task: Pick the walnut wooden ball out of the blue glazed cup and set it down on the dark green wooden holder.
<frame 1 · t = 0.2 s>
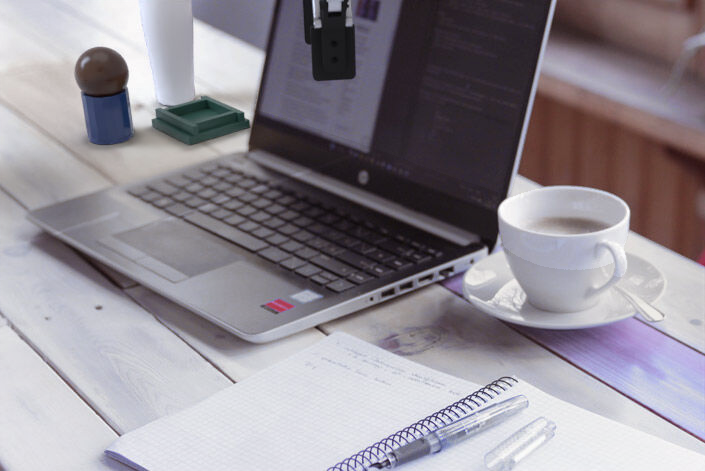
hand: (328, 59, 75), 21 cm above the table, tool pointing down, fingers open, 9 cm apart
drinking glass: (176, 102, 130), on the table
cup: (111, 136, 119), on the table
holder: (200, 126, 121), on the table
ball: (101, 73, 115), point 8 cm above the table, touching cup
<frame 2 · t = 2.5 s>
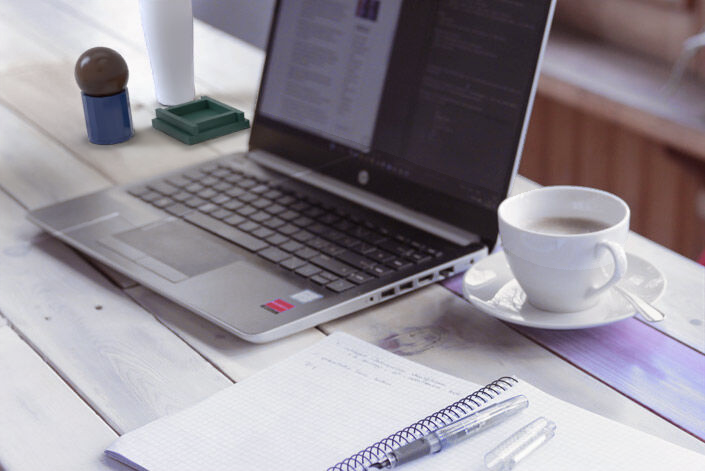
nothing on the table moved.
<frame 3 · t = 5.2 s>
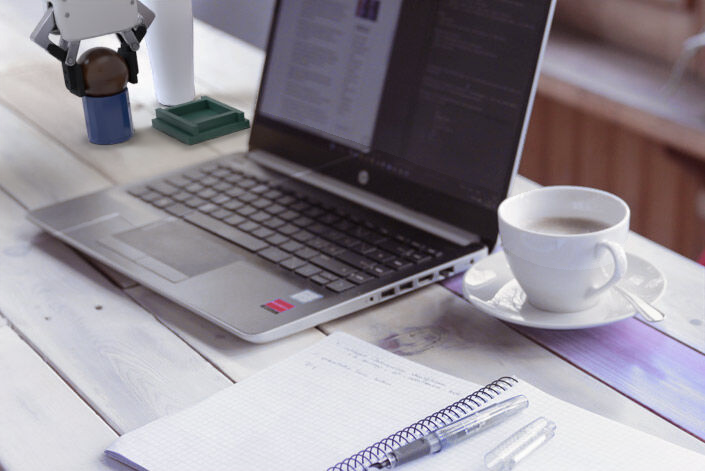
hand: (103, 86, 116), 6 cm above the table, tool pointing down, fingers closed on ball, 6 cm apart
ball: (101, 73, 115), point 8 cm above the table, touching cup, gripper
everything else where it was.
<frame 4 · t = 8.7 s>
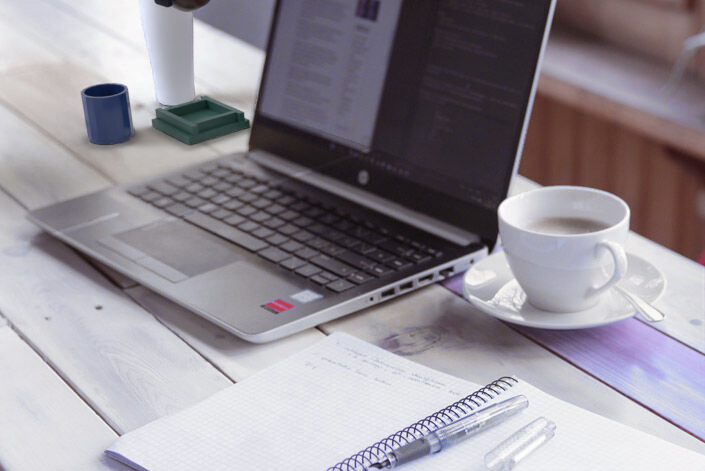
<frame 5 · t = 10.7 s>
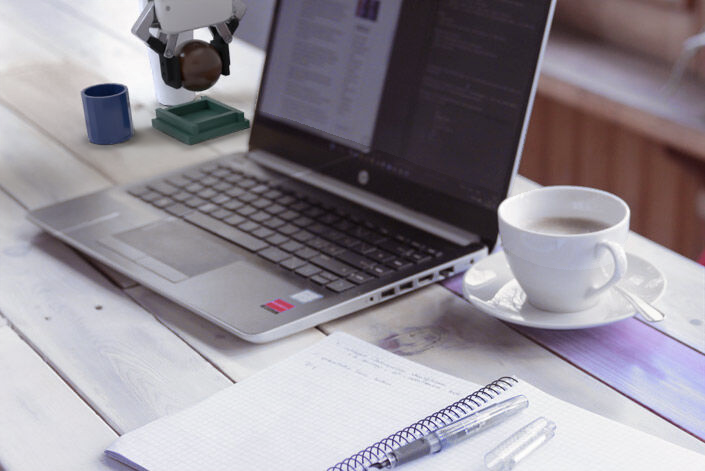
hand: (197, 78, 118), 6 cm above the table, tool pointing down, fingers closed on ball, 6 cm apart
ball: (196, 65, 117), point 8 cm above the table, touching gripper
everything else where it was.
when the fingers open (3 cm above the table, at t = 12.3 s): ball stays where it is, resting on holder.
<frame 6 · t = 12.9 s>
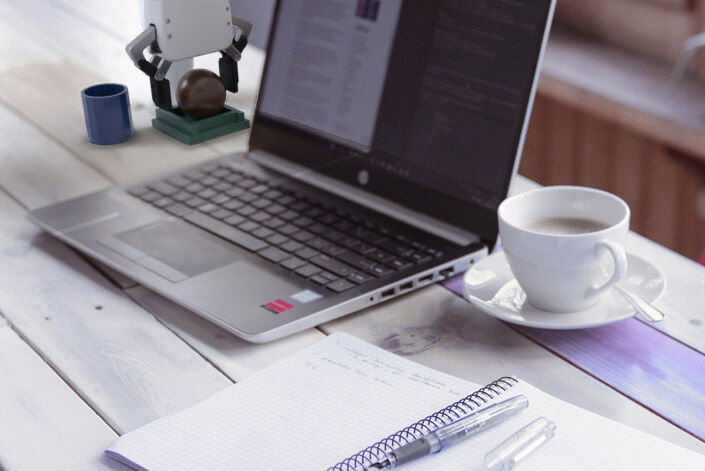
hand: (197, 99, 119), 4 cm above the table, tool pointing down, fingers open, 9 cm apart
ball: (200, 94, 119), point 4 cm above the table, tilted 7°, touching holder
everything else where it was.
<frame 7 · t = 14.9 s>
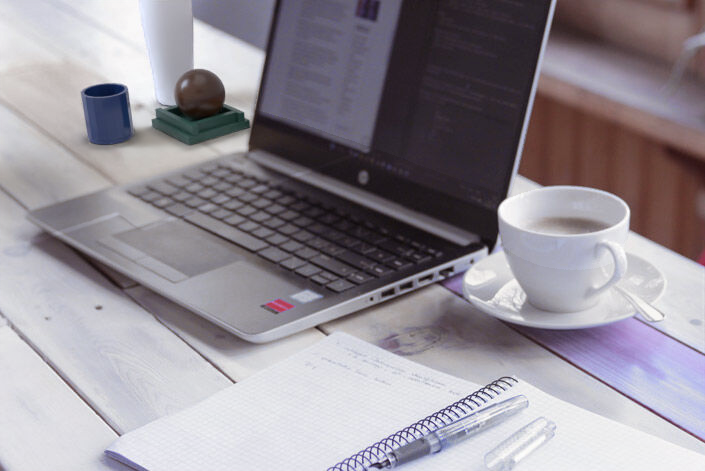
nothing on the table moved.
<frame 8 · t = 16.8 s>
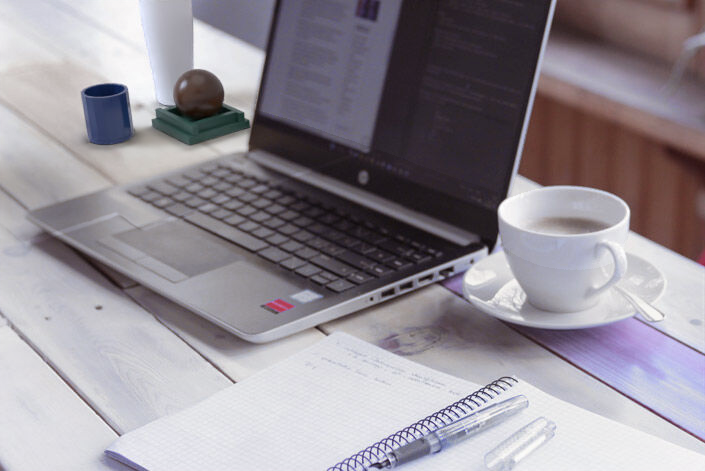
nothing on the table moved.
at the end: ball 0.2 cm off-centre on the holder, point 4.2 cm above the holder's base; the gripper is holding nothing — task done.
